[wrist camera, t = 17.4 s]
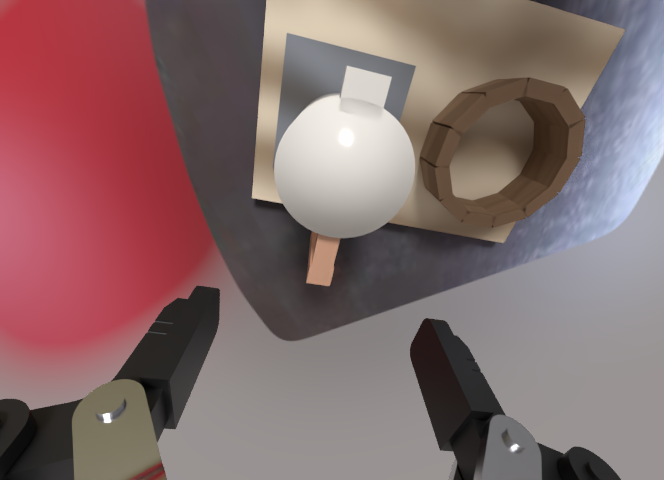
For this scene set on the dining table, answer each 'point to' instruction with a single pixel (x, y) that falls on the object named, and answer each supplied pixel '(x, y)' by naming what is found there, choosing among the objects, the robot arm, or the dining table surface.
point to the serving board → (445, 96)
